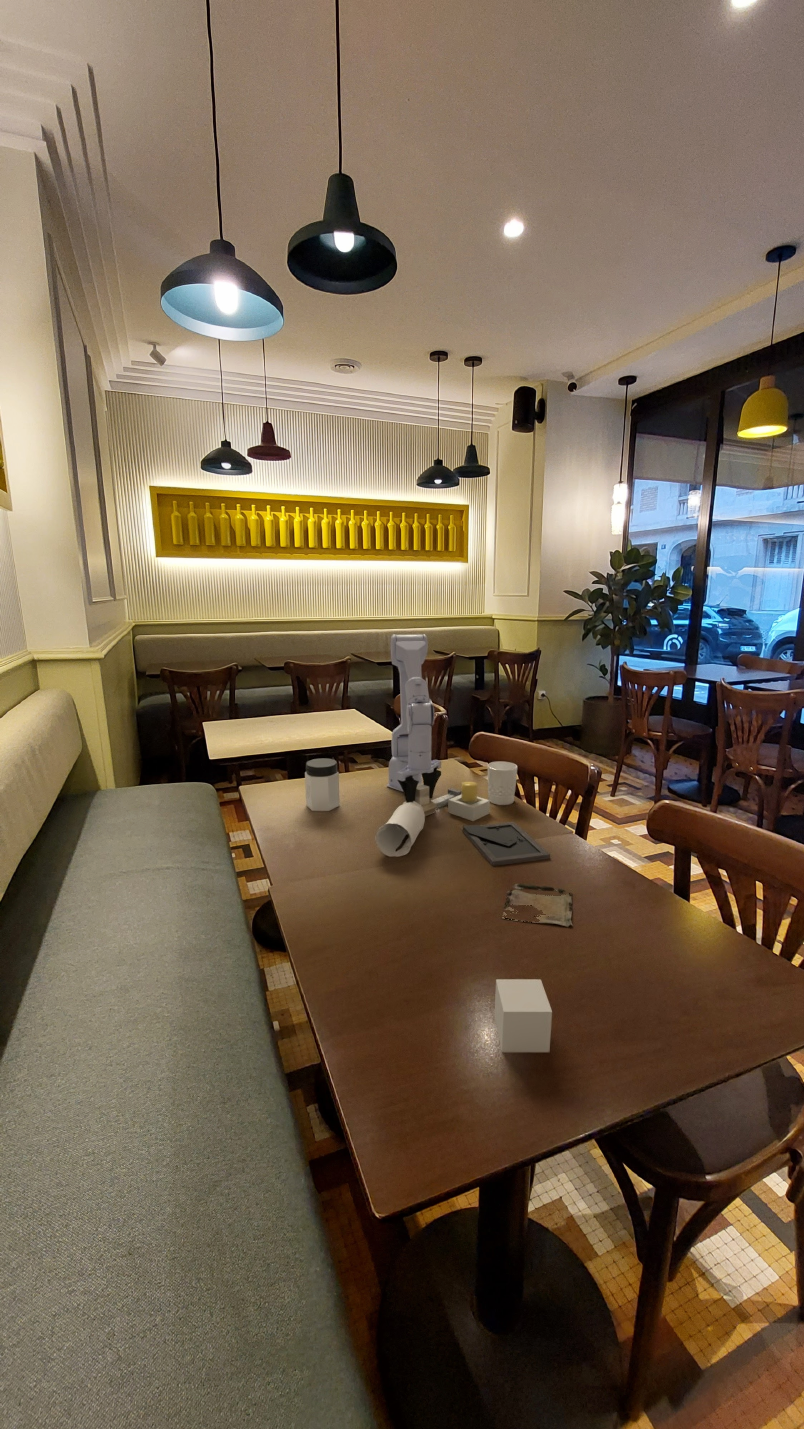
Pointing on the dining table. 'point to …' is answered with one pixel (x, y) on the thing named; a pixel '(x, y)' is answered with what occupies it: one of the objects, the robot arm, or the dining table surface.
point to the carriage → (424, 799)
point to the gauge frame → (469, 808)
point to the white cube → (522, 1015)
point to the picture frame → (504, 843)
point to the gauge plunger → (469, 791)
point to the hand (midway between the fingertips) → (419, 800)
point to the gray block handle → (446, 797)
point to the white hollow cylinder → (401, 829)
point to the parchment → (542, 904)
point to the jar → (322, 784)
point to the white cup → (501, 782)
